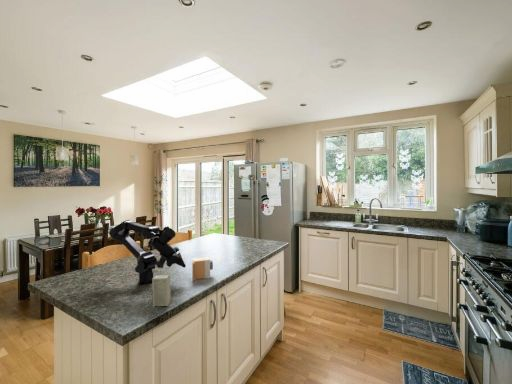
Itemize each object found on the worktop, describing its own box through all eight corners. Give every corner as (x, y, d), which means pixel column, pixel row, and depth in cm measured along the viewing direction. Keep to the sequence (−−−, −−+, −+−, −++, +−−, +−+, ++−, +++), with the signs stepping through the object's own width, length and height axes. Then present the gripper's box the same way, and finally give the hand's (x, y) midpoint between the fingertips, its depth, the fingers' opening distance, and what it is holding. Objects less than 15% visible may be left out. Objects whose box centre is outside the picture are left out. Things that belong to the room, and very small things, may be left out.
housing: (193, 279, 133) (193, 261, 133) (192, 275, 139) (192, 258, 139) (212, 277, 136) (212, 259, 136) (211, 273, 142) (211, 256, 142)
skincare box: (170, 302, 106) (170, 274, 106) (167, 307, 102) (167, 278, 102) (156, 302, 106) (155, 274, 106) (152, 307, 102) (151, 278, 101)
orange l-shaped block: (192, 281, 129) (192, 263, 129) (192, 278, 133) (192, 261, 132) (205, 280, 131) (205, 262, 131) (204, 277, 134) (204, 260, 134)
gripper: (153, 254, 133) (174, 272, 137) (148, 264, 115) (172, 285, 119) (168, 239, 135) (189, 257, 139) (165, 246, 118) (189, 267, 121)
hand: (185, 266), depth 129 cm, fingers closed
